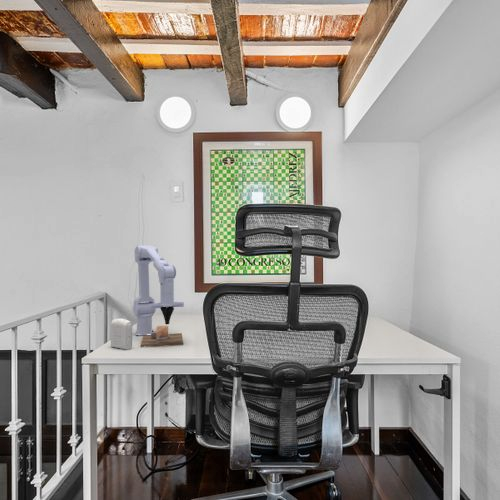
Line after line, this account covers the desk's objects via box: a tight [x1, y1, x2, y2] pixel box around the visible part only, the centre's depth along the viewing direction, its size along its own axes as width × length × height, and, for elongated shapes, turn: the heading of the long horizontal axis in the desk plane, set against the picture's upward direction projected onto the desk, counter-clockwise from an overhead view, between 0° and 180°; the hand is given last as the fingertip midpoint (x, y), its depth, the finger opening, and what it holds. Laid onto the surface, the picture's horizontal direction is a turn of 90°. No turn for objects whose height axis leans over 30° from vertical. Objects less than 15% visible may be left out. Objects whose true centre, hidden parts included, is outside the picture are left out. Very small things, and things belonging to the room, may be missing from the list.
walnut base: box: [140, 332, 184, 348], centre depth 176 cm, size 18×18×2 cm
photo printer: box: [110, 318, 133, 350], centre depth 165 cm, size 10×4×12 cm, turn 60°
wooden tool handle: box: [151, 325, 169, 339], centre depth 172 cm, size 14×5×4 cm, turn 172°
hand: (167, 324), depth 170 cm, fingers closed
